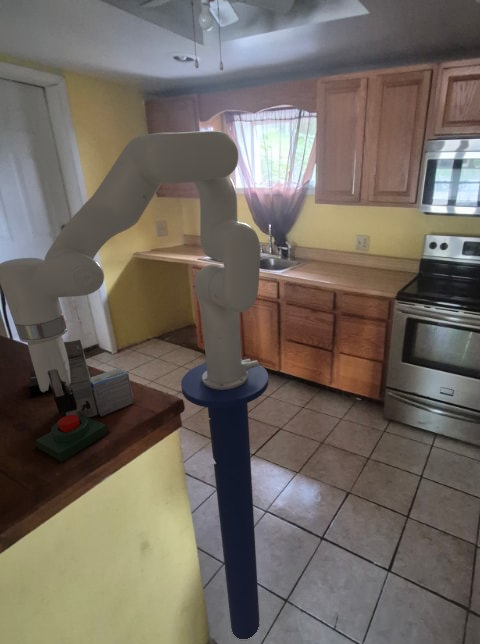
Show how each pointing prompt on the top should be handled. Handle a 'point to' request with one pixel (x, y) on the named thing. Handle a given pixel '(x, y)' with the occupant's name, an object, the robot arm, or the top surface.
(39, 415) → the top surface
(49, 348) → the robot arm
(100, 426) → the switch block
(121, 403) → the medicine box
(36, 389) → the dial panel
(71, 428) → the light button
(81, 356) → the coffee box
